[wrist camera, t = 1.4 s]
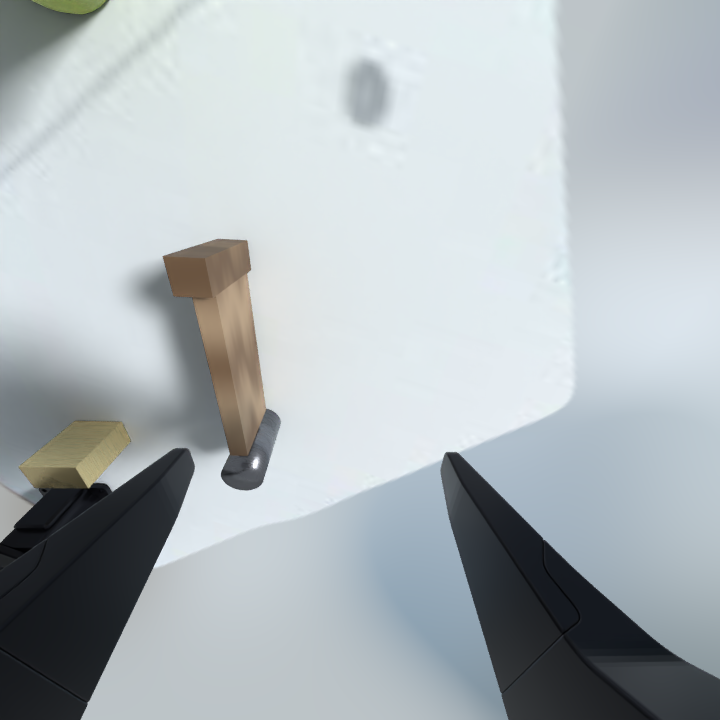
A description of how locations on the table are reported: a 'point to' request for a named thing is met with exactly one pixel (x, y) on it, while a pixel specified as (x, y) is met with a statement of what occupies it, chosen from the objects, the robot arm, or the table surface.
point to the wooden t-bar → (225, 331)
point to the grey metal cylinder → (253, 457)
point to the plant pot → (71, 5)
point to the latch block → (76, 455)
